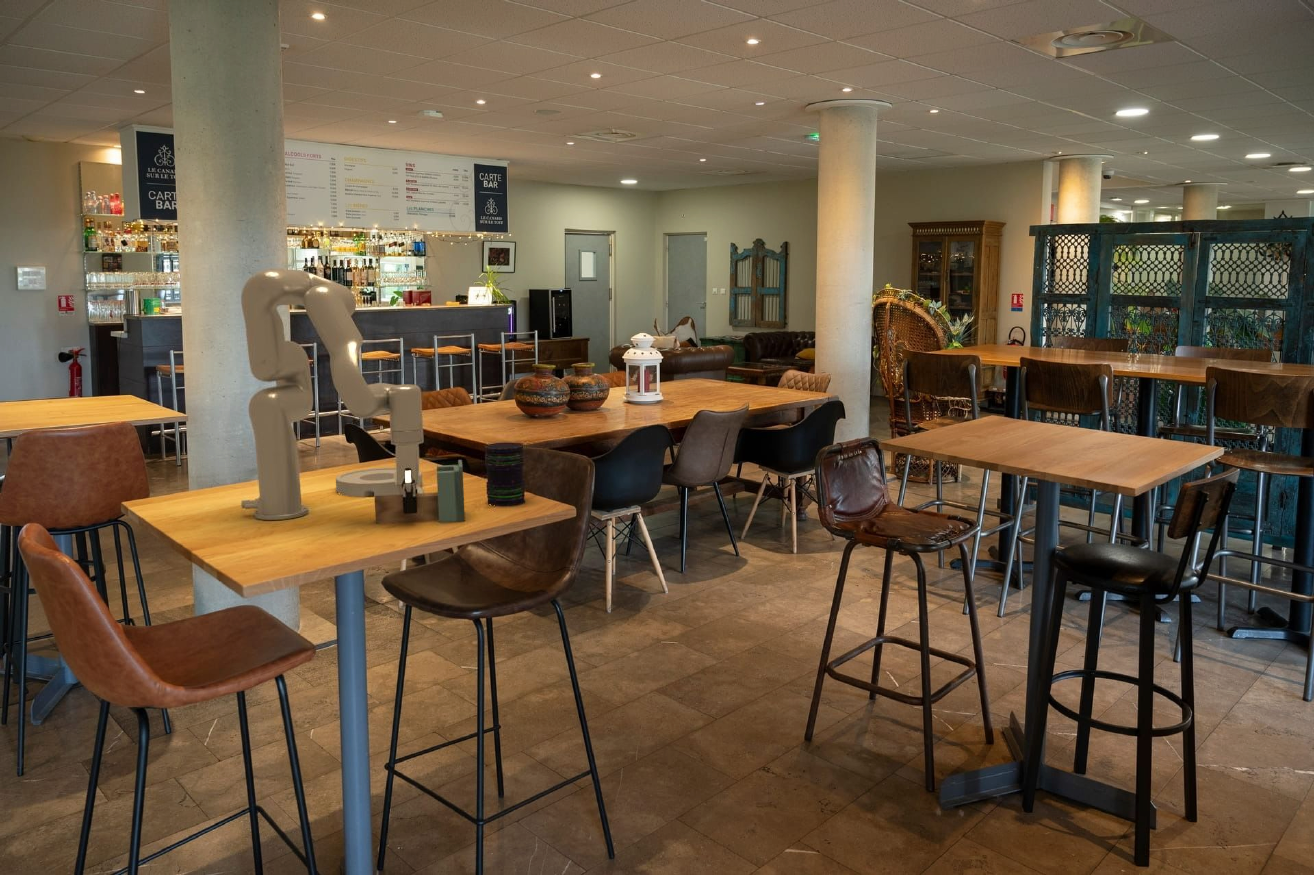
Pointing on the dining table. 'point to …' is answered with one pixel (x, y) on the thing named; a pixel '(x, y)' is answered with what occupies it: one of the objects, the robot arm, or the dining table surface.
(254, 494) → the dining table surface
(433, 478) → the dining table surface
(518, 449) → the storage jar
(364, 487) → the ashtray
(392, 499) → the brown wooden block
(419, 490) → the grey layered block
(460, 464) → the u-shaped channel piece
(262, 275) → the robot arm
